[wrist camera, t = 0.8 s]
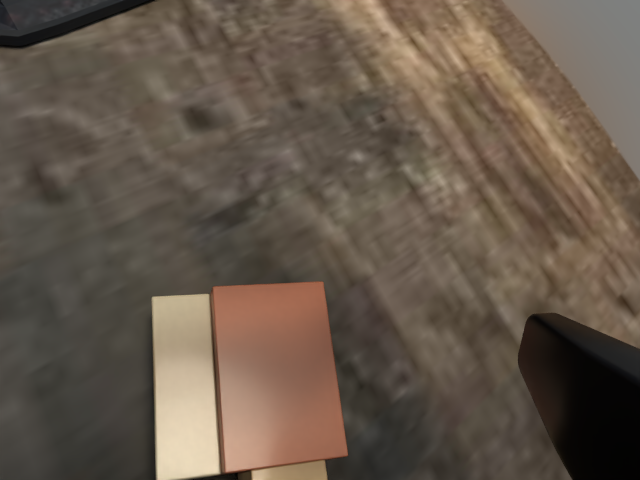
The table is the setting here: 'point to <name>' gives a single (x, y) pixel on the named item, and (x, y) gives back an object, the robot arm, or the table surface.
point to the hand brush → (245, 384)
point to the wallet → (51, 17)
